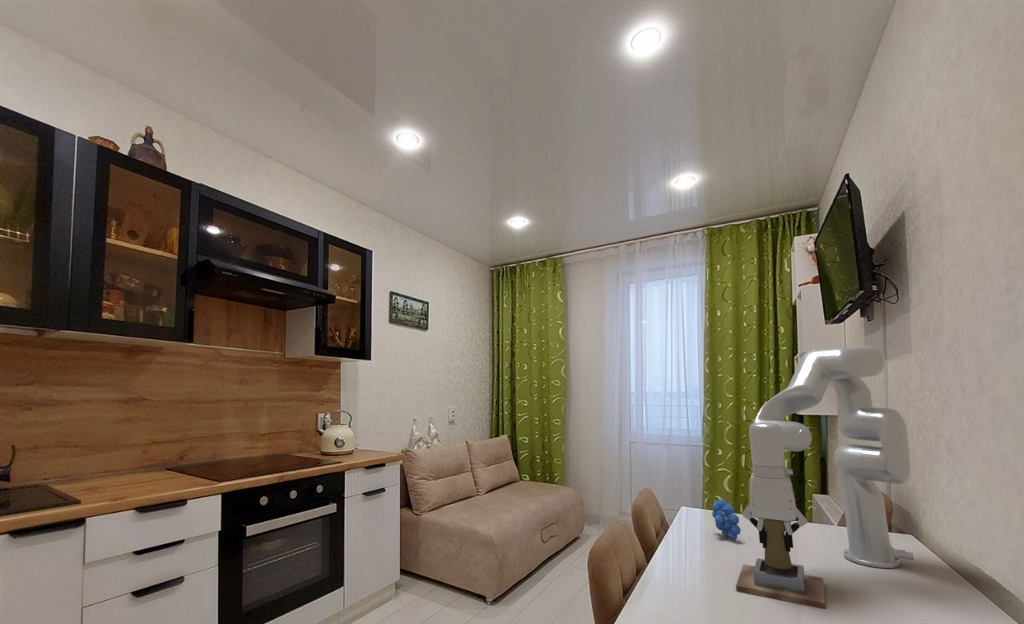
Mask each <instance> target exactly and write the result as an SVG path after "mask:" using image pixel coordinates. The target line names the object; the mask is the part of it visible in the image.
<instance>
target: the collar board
mask: <svg viewBox="0 0 1024 624" xmlns="http://www.w3.org/2000/svg"><path fill="white" fill-rule="evenodd" d="M754 567H755V565H748V564H744V563H743V564H742V566H741V571H740V573H739V576H738V579H737V581H736V583H735V584H736V585H735V590H736V592H740V593H744V594H750V595H754V596H759V597H765V598H769V599H770V598H771V599H775V600H779V601H785V602H789V603H794V604H800V605H803V606H804V605H805V606H810V607H814V608H820V609H824V610H825V609H826V598H825V597H826V596H825V588H824V577H820V576H814V575H807V574H804V575H805V594H800V593H795V592H790V591H784V590H779V589H774V588H769V587H763V586H758V585H755V584H754V573H753V571H754Z"/></svg>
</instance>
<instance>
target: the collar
mask: <svg viewBox="0 0 1024 624" xmlns="http://www.w3.org/2000/svg"><path fill="white" fill-rule="evenodd" d="M764 559H765V558H764ZM764 559H763V558H756V561H755V565H754V566H755V567H754V571H753V573H754V584H755V585H758V586H763V587H769V588H774V589H779V590H784V591H790V592H795V593H800V594H805V575H806V574H805V568H804V567H805V566H804V565H800V564H796V563H795V564H794V563H792V568H790V569H778V568H774V567H770V566H768V565H766V564H765V562H764Z"/></svg>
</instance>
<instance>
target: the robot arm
mask: <svg viewBox="0 0 1024 624" xmlns="http://www.w3.org/2000/svg"><path fill="white" fill-rule="evenodd" d="M885 364H886V361H885V356H884V354H883V353H882V352H881V350H880V349H878V348H877V347H875V346H871V345H863V346H862V345H861V346H852V347H851V346H850V347H838V348H837V347H835V348H825V349H824V348H823V349H822V348H821V349H815V350H814V349H813V350H809V351H807V352H805V353H804V354H803V356H802V357H801V359H800V361H799V363H798V365H797V367H796V369H795V371H794V374H793V375H792V377H791V380H790V382H789V383H788V386H787V387H786V388H784V389H783V390H781V391H779V392H778V393H777V394H775V395H774V396H773V397H771V398H770V399H769V400H767V401H766V402H765V403H764V404H763V405H762V406H761V407H760V409H759V410H758V412H757V414H756V417H755V418H754V421H753V423H750V425H749V428H748V433H749V443H750V453H751V463H752V475H750V478H749V503H748V504H747V505H746V507H745V509H743V511H742V513H741V515H742V517H743V518H745V519H746V520H748V521H749V522H750V524H752V525H753V526H754V527H755V528H756V530H757V531H758V538H759V540H758V541H759V544H762V548H763V549H765V548H766V530H765V529H764V527H763V522H764V519H769V520H777V521H783V522H784V525H785V528H786V531H785V532H784V533H785V539H786V549H787V551H788V552H789V553H791V549H794V541H793V534H795V532H797V530H799V529H800V528H801V527H804V526H805V525H807V524H808V520H807V518H806V517H805V516H804V515H803V514H802V512H801V511H800V510H799V509H798V508H797V505H796V498H795V492H794V488H793V487H794V486H793V483H792V481H791V478H789V477H788V476H790V475H791V476H793V475H794V472H793V469H792V468H791V469H790V468H788V467H786V458H785V451H791V452H803V451H804V450H806V449H808V448H809V447H810V446H811V443H812V441H813V438H812V437H813V436H812V433H811V431H810V429H809V428H808V427H807V426H806V425H805V424H803V423H800V422H797V421H788V420H787V421H784V420H783V419H785V418H787V417H789V416H790V415H792V414H795V413H798V412H799V413H800V412H803V411H805V410H808V409H811V408H813V407H815V406H817V405H819V404H820V403H821V402H822V399H823V398H824V395H825V393H826V390H827V388H828V385H829V383H830V384H831V385H832V386H833V389H834V391H835V397H836V409H837V425H838V429H839V432H840V434H841V435H842V436H843V437H845V438H848V439H851V440H857V441H866V442H867V441H868V442H880V444H881V446H877V445H876V446H875V445H867V444H857V443H856V444H854V443H848V444H843V445H840V446H838V447H837V448H836V449H835V450H834V453H833V454H834V455H833V460H834V464H835V467H836V470H837V475H838V477H839V481H840V486H841V491H842V497H843V507H844V517H845V522H846V523H845V524H846V532H847V539H848V540H847V541H848V547H849V548H846V549H844V550H843V552H842V553H843V556H844V557H845V558H846V559H847V560H849V561H851V562H854V563H856V564H859V565H863V566H868V567H873V568H882V569H893V568H898V567H899V566H900V565H901V563H900V559H904V560H906V561H907V560H909V561H914V558H915V557H914V553H913V552H911V551H910V552H909V551H906V549H905V550H904V549H895V548H894V547H893V546H892V544H891V542H890V535H889V527H888V520H887V513H886V506H885V504H886V503H885V498H884V495H883V492H882V491H881V489H880V487H878V485H877V484H876V483H875V482H880V483H888V484H893V485H894V484H895V485H901V484H902V485H903V484H905V483H907V482H908V481H909V480H910V477H911V457H910V446H909V437H908V436H909V435H908V428H907V425H906V422H905V419H904V417H903V416H902V414H901V413H900V412H898V411H897V410H896V409H893V408H887V407H874V406H873V403H872V402H873V401H872V394H871V390H870V387H869V386H868V385H867V383H865V381H864V380H863V379H861V378H868V377H874V376H877V375H880V373H882V372H883V370H884V369H885ZM797 519H798V520H797ZM796 520H797V521H796Z"/></svg>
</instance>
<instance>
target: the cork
mask: <svg viewBox="0 0 1024 624" xmlns="http://www.w3.org/2000/svg"><path fill="white" fill-rule="evenodd" d="M763 527H764V529H765V530H766V548H764V562H765V564H766V565H768V566H770V567H774V568H778V569H790V568H792V564H793V563H792V559H791V556H790V552H788V551H787V549H786V539H785V532H786V528H785V525H784V522H783V521H777V520H769V519H764V522H763Z"/></svg>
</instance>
